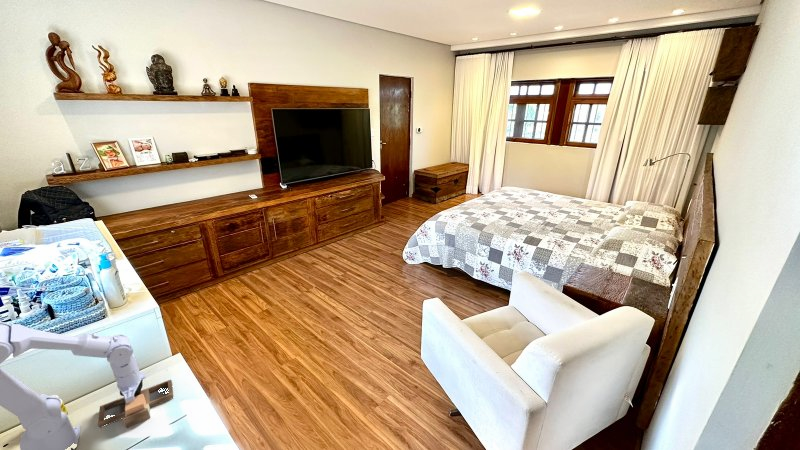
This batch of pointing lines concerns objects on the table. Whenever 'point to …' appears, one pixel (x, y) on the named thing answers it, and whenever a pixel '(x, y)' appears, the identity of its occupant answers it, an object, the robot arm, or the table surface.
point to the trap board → (151, 400)
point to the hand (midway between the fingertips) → (136, 399)
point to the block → (135, 405)
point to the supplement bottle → (61, 405)
